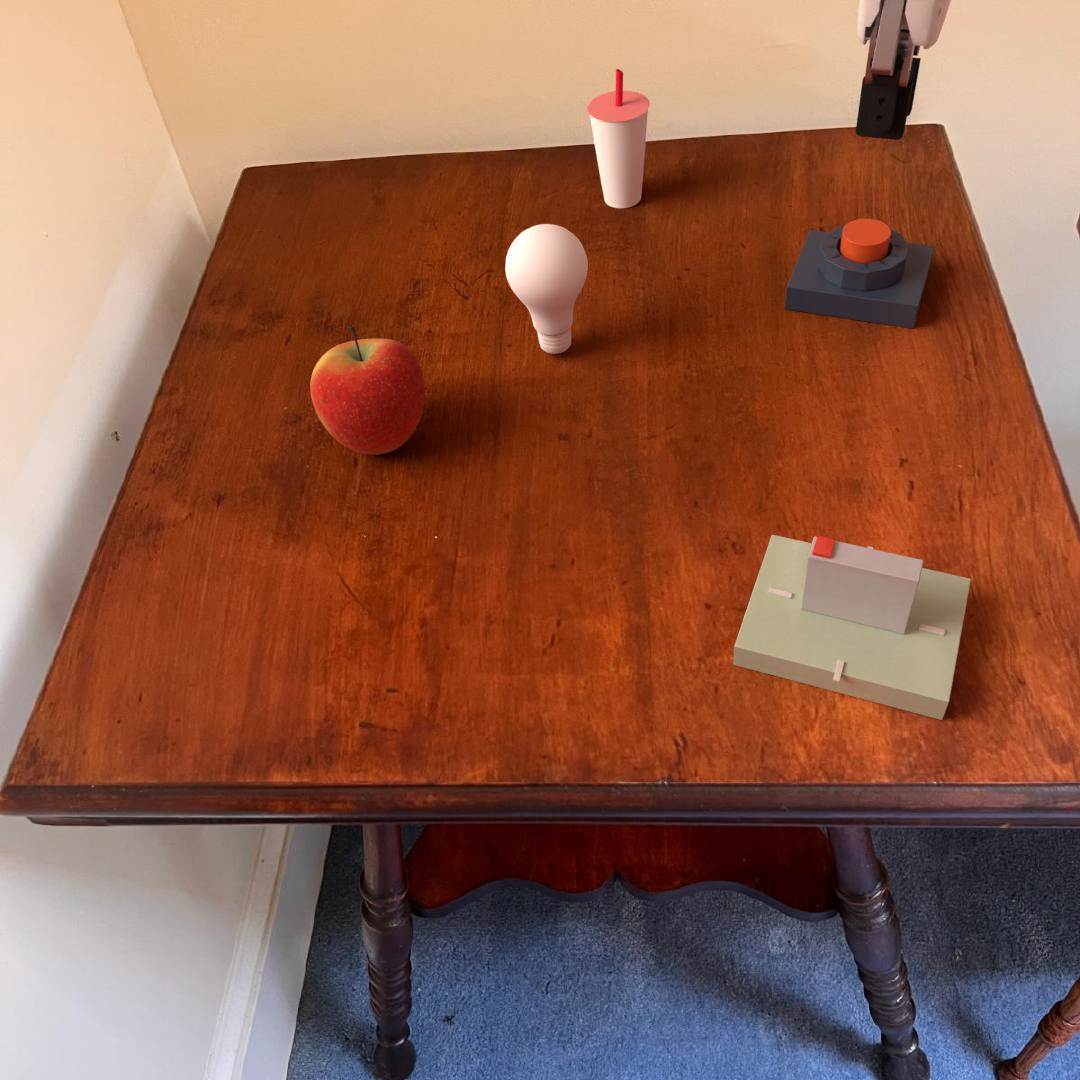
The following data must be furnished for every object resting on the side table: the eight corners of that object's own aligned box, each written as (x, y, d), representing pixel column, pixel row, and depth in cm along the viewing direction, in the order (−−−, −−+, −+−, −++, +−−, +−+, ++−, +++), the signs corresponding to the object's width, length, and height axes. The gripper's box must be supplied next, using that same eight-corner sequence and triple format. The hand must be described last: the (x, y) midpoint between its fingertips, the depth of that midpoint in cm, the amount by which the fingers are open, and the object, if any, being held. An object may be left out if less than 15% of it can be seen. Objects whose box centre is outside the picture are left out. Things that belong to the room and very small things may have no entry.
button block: (929, 268, 84) (939, 225, 81) (913, 329, 80) (922, 286, 77) (806, 252, 87) (811, 210, 84) (784, 309, 83) (788, 267, 80)
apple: (327, 484, 75) (287, 380, 68) (333, 410, 81) (297, 305, 73) (436, 470, 75) (409, 364, 68) (435, 396, 80) (410, 290, 73)
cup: (652, 181, 97) (649, 53, 88) (651, 213, 94) (647, 84, 85) (595, 183, 98) (587, 57, 89) (591, 215, 94) (582, 87, 85)
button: (891, 240, 81) (894, 221, 80) (883, 267, 79) (886, 247, 78) (845, 235, 82) (847, 215, 81) (835, 261, 80) (838, 241, 79)
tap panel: (965, 591, 64) (973, 569, 62) (940, 729, 58) (948, 709, 56) (772, 547, 67) (774, 525, 66) (730, 673, 62) (731, 652, 60)
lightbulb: (551, 387, 80) (535, 266, 71) (503, 351, 83) (483, 232, 75) (610, 350, 82) (602, 229, 74) (561, 316, 85) (548, 197, 77)
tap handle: (908, 613, 60) (924, 556, 57) (904, 634, 60) (920, 578, 56) (806, 588, 62) (814, 532, 58) (800, 609, 61) (808, 553, 58)
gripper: (982, -129, 53) (919, 192, 67) (1016, -225, 62) (955, 75, 76) (834, -132, 56) (804, 179, 70) (888, -224, 65) (851, 67, 79)
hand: (883, 122), depth 73 cm, fingers closed
